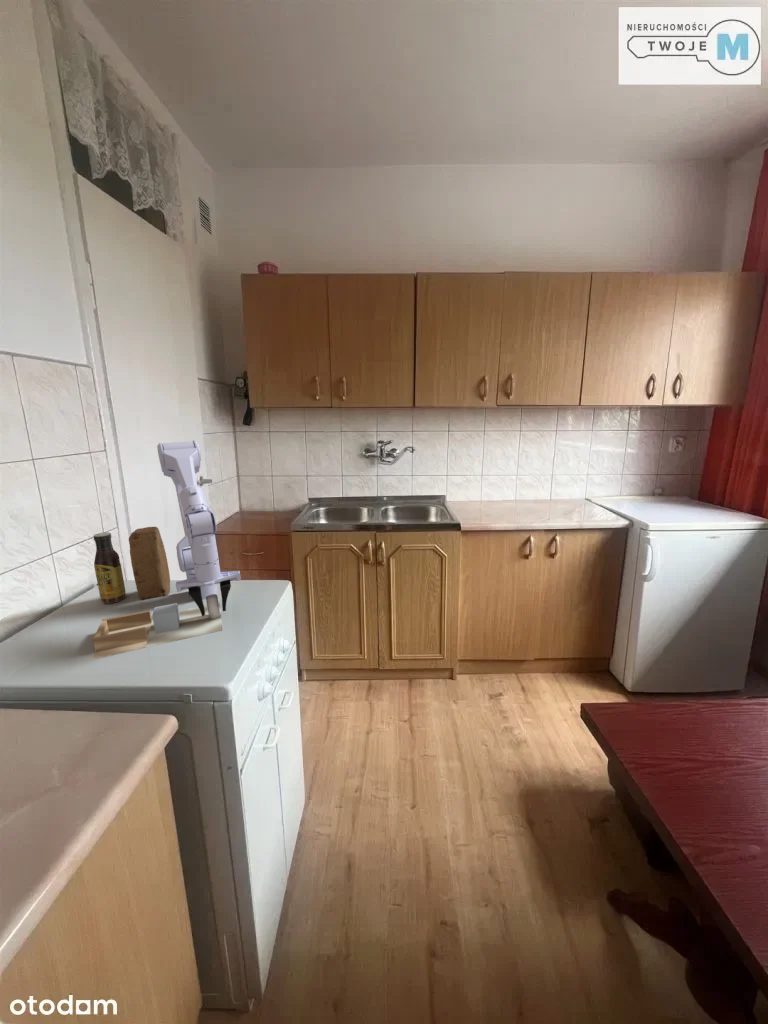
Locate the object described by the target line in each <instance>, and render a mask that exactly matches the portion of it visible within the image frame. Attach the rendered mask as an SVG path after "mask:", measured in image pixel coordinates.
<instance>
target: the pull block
mask: <svg viewBox="0 0 768 1024" xmlns="http://www.w3.org/2000/svg"><path fill="white" fill-rule="evenodd" d="M218 599H219V598H218V594H212V595H208V596H207V597H206V599H205V600H206V605H207V607H208V613H209V614H207V615H204V616H198V617H193V618H188V619H183V620H180V615H179V611H180V610H179V605H178V602H175V603H171V604H164V605H160V606H155V607H154V608H153V612H152V614H151V616H152V618H153V623H154V628H155V633H156V634H157V633H162V632H166V631H171V630H176V629H179V626H180V624H182V623H187V622H192V621H197V620H201V619H206V618H210V619H217V618H219V617H220V610H219V604H218V603H219V600H218Z"/></svg>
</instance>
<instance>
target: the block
mask: <svg viewBox="0 0 768 1024" xmlns="http://www.w3.org/2000/svg"><path fill="white" fill-rule="evenodd" d="M128 543H129V556H130V563H131V567H132V573H133V577H134V583H135V586H136V590H137V594H138V598H139V599H140V601H147V600H151V599H156V598H162V597H167V596H168V595H169V594H170V591H171V576H170V570H169V562H168V558H167V553H166V549H165V545H164V541H163V538H162V536H161V533H160V530H159V527H158V526H146V527H141V528H137V529H135V530H133V532H131V533H130V536H129V537H128Z"/></svg>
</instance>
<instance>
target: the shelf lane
mask: <svg viewBox="0 0 768 1024" xmlns="http://www.w3.org/2000/svg"><path fill="white" fill-rule="evenodd" d="M218 604H219V610H220V617H219V618H217V619H210V618H206V619H201V620H197V621H192V622H187V623H182V624H180V626H179V629H176V630H171V631H166V632H162V633H157V634H156V633H155V628H154V623H153V618H152V614H151V610H150V609H149V610H144V611H143V610H142V611H139V612H134V613H129V614H124V615H119V616H113V617H109V618H103V619H102V620H101V622H100V623H99V626H98V628H97V630H96V632H95V634H94V635H93V639H92V642H93V646H94V651H95V652H94V655H93V657H92V660H95V659H96V660H97V659H101V658H106V657H110V656H114V655H118V654H123V653H127V652H133V651H137V650H141V649H145V648H151V647H154V646H159V645H163V644H168V643H173V642H176V641H181V640H182V641H183V640H186V639H190V638H194V637H199V636H203V635H207V634H213V633H218V632H221V631H223V620H222V619H223V618H222V610H221V608H222V607H221V602H218ZM204 609H205V615H207V614H209V613H208V607H207V604H206V605H205V604H204ZM179 615H180V620H183V619H188V618H193V617H198V616H202V614H201V611H200V609H199V607H198V606H196V607H190V608H186V609H180V610H179Z"/></svg>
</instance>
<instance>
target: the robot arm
mask: <svg viewBox="0 0 768 1024" xmlns="http://www.w3.org/2000/svg"><path fill="white" fill-rule="evenodd" d="M156 448H157V454H158V459H159V463H160V468H161V472H162V473H163V476H165V477H167V478H170V479H171V481H172V482H173V485H174V487H175V492H176V496H177V503H178V506H179V512H180V516H181V523H182V527H183V530H184V531H183V532H184V537H182V539H180V540H179V541H178V542H177V544H176V557H177V564H178V567H179V570H180V572H182V573H185V576H186V579H183V580H179V581H176V582H175V590H176V592H177V593H179V592H180V593H181V592H183V591H184V590H188V596H189V597H190V599H191V600H193V601H194V603H195V604H196V605H197V606H196V607H199V609H200V611H201V614H202V616H204V615H205V609H204V606H205V604H204V602H203V601H204V600H206V597H207V596H208V595H212V594H216V595H218V586H217V585H218V584H219V589H220V596H221V606H222V607H221V608H222V612H226V611H227V601H228V596H229V593H230V591H231V588H232V585H231V582H234V581H236V582H239V581H240V582H241V581H242V579H241V578H242V577H241V573H240V570H235V571H234V570H233V571H221V566H220V560H219V553H218V546H217V540H216V535H215V534H217V521H216V517H215V514H214V512H213V511H214V510H212V508H211V506H209V504H208V500H207V497H206V493H205V491H204V489H203V488H202V487H200V486H198V481H197V475H196V474H198V473H199V472H200V468H201V462H202V455H201V449H200V445H199V442H197V441H196V440H195V439H194V440H191V441H189V440H188V441H179V442H178V441H176V442H164V443H162V442H159V443H158V444H157V445H156Z"/></svg>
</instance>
